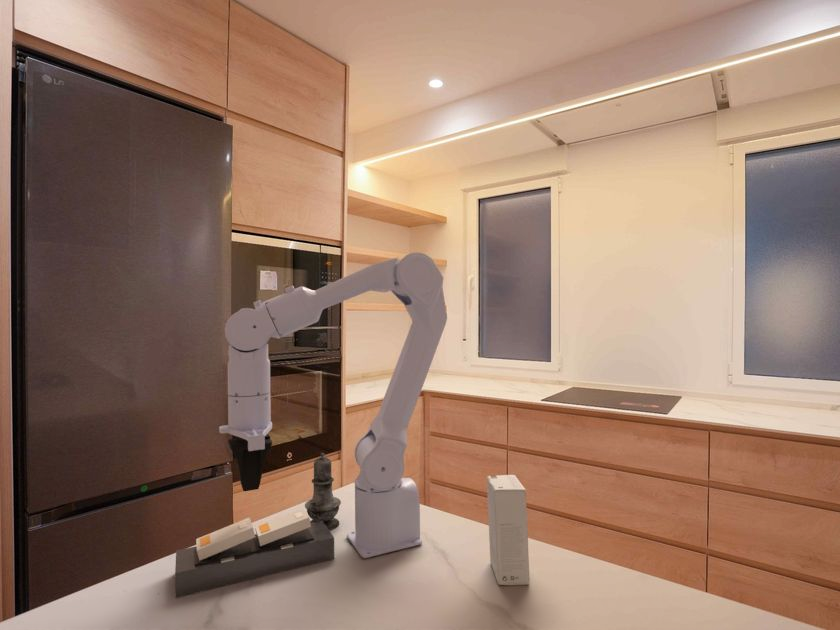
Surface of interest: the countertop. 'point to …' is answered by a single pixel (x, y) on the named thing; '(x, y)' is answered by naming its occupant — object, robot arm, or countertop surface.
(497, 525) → the skincare box
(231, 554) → the power strip
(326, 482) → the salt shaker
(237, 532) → the white rocker switch
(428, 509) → the countertop surface
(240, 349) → the robot arm
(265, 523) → the rocker outlet
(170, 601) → the countertop surface
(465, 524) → the countertop surface
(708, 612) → the countertop surface
